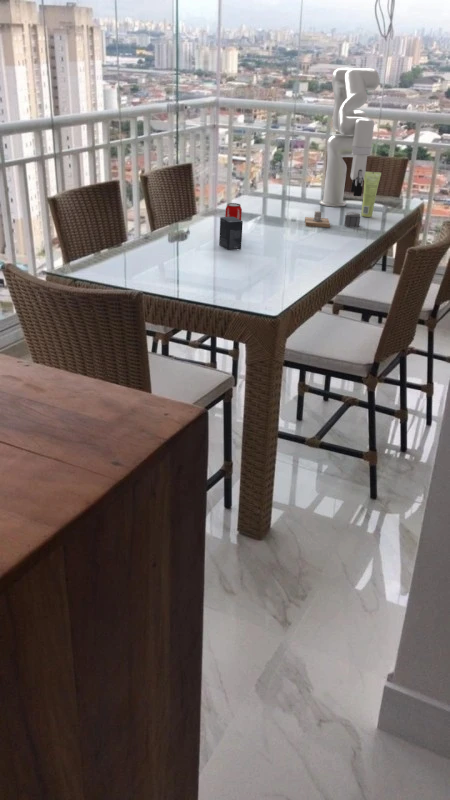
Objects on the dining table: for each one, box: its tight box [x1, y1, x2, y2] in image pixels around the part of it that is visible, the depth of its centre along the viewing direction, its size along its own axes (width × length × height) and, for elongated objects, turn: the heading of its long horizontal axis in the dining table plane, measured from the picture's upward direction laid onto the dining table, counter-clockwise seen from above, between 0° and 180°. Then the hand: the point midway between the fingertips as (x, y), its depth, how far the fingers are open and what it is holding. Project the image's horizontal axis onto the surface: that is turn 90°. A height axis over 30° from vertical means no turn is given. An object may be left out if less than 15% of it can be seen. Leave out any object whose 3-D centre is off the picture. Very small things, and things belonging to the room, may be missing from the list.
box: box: [218, 216, 243, 251], centre depth 259 cm, size 8×6×11 cm
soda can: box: [224, 202, 243, 221], centre depth 274 cm, size 6×6×12 cm
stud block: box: [304, 210, 331, 228], centre depth 300 cm, size 10×10×5 cm
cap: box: [343, 211, 361, 228], centre depth 300 cm, size 6×6×5 cm
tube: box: [360, 171, 382, 218], centre depth 314 cm, size 6×5×20 cm
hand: (356, 193), depth 295 cm, fingers open, 9 cm apart
